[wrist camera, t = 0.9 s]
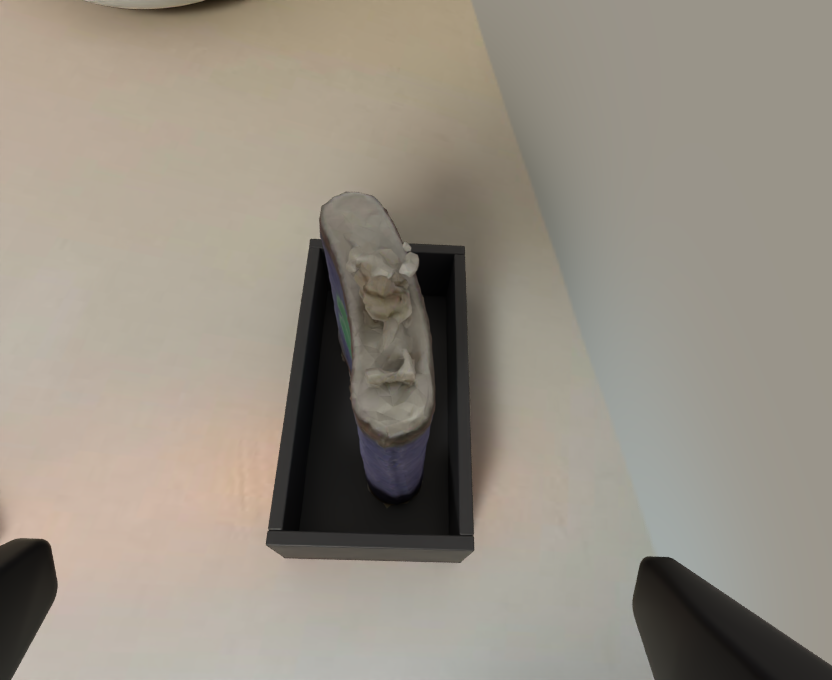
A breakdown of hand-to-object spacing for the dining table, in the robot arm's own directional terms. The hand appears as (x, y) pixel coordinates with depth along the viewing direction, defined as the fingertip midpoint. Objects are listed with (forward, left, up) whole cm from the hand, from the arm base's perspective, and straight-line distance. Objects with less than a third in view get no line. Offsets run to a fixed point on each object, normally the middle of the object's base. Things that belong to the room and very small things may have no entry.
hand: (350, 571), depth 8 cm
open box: (+8, 0, -14) cm, 16 cm away
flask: (+8, 0, -14) cm, 16 cm away
